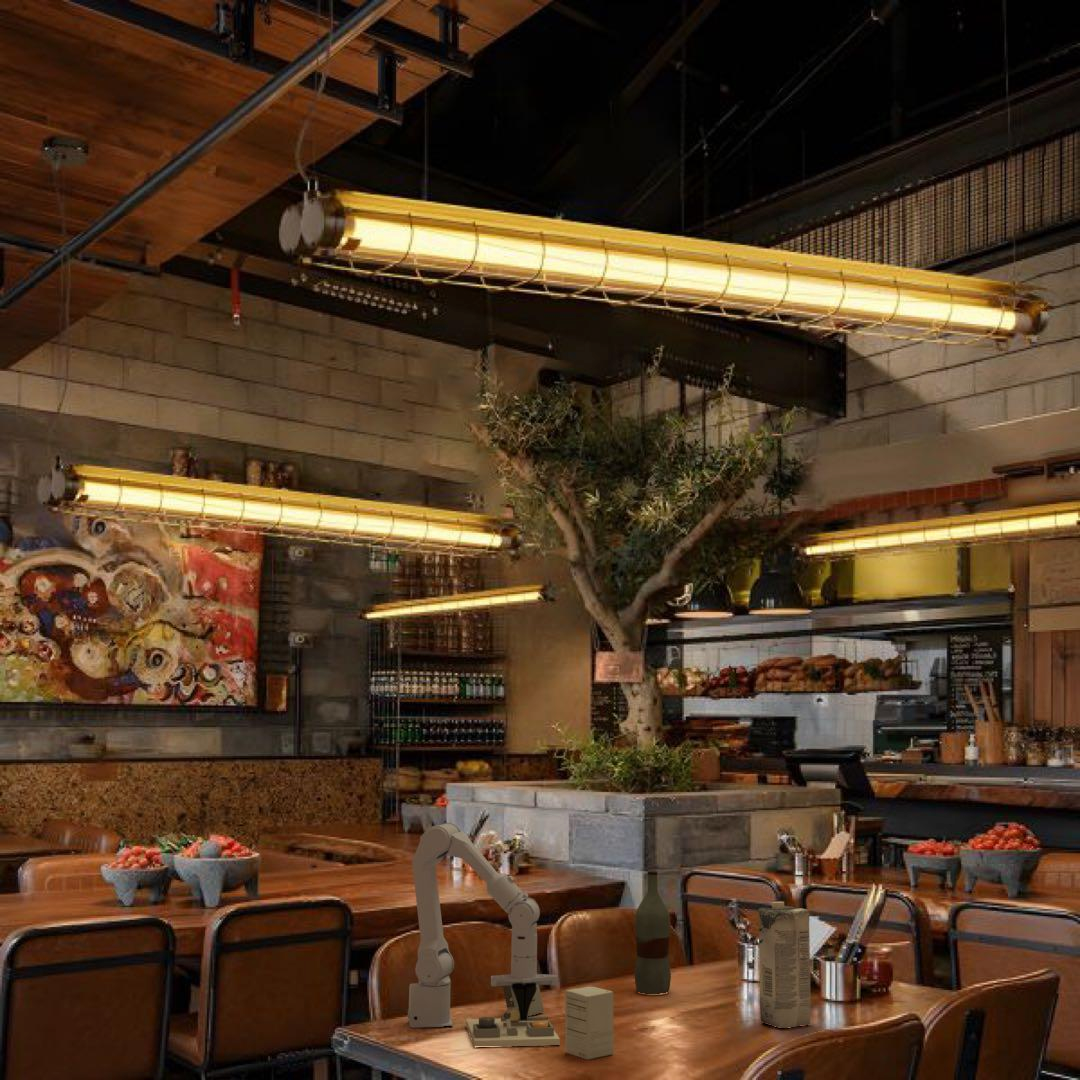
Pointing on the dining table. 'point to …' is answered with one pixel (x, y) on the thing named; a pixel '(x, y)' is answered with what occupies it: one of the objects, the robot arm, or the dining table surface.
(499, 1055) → the dining table surface
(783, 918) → the juice carton
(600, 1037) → the supplement box
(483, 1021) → the black button
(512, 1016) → the brass slider
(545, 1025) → the orange button
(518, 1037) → the control panel
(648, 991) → the bottle
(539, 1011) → the electrical switch
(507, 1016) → the toggle lever
